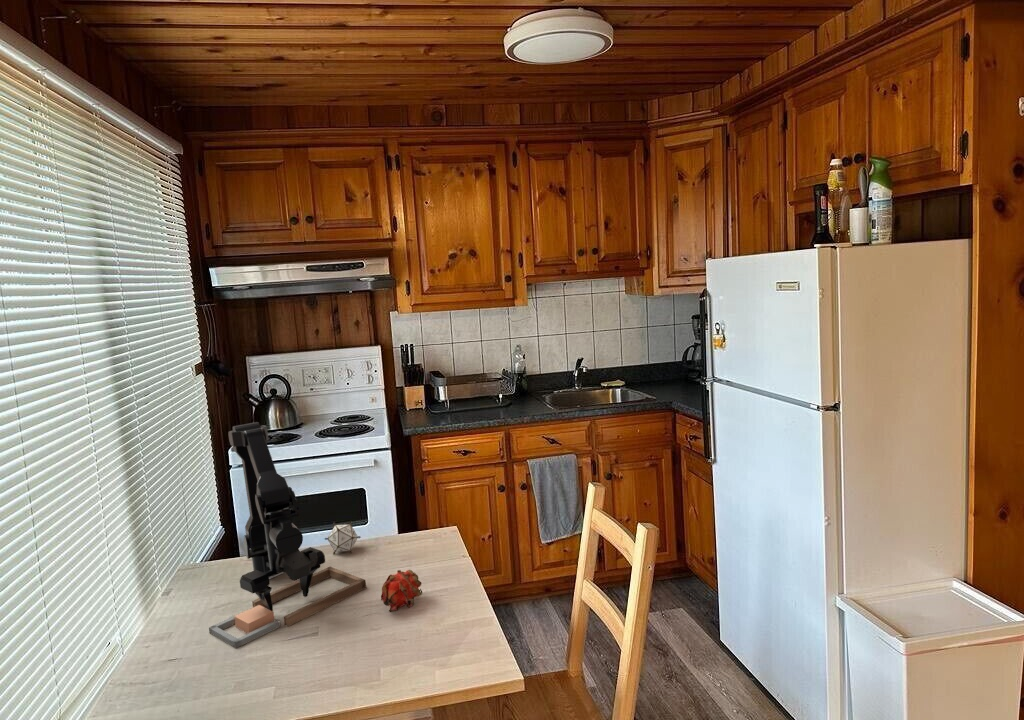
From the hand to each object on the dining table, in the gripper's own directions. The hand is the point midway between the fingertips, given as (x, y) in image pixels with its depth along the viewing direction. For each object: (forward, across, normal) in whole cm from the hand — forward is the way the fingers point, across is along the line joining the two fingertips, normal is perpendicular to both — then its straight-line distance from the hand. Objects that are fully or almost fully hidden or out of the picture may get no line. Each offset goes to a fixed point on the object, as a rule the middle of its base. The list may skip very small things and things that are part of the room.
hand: (288, 604), depth 163 cm
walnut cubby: (+1, +5, 0) cm, 5 cm away
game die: (+1, +27, +16) cm, 32 cm away
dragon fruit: (+2, +15, -22) cm, 27 cm away
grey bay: (+1, -10, 0) cm, 10 cm away
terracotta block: (+2, -8, 0) cm, 9 cm away
